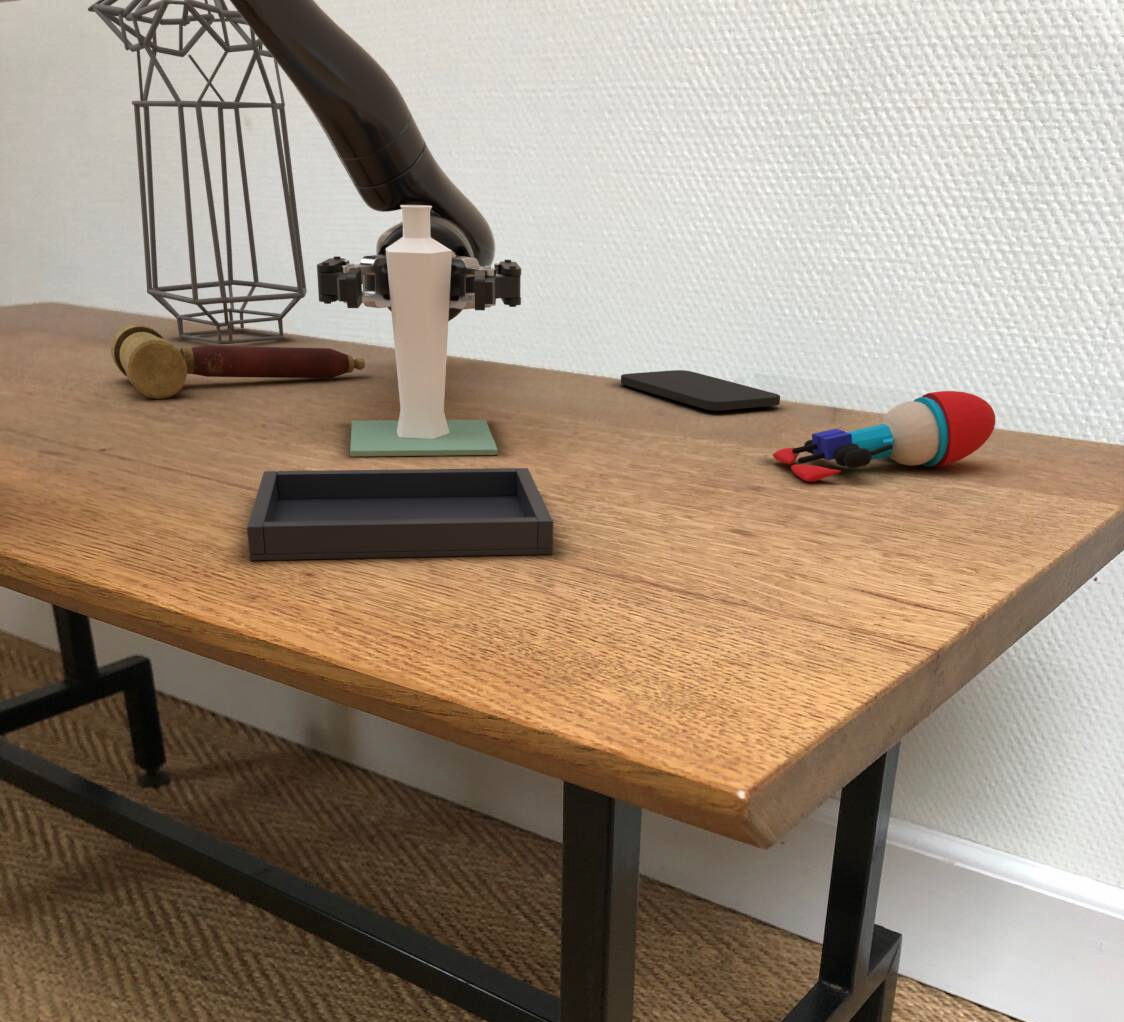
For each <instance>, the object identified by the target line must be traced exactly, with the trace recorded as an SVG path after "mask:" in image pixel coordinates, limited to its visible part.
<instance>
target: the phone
mask: <svg viewBox="0 0 1124 1022" xmlns="http://www.w3.org/2000/svg"><path fill="white" fill-rule="evenodd" d="M620 384H621V385H623V386H627V387H631V388H632V389H636V390H640V391H643V392H645V393H646V392H647V393H649V394H652V395H657V396H660V397H663V398H667V399H669V400H673V401H676V402H679V403H683V404H686V405H689V406H693V407H697V408H699V409H703V410H707V411H711V412H723V411H731V410H733V411H734V410H743V409H753V408H754V409H755V408H765V407H775V406H779V405H780V404H781V395H780V394H779V393H774V392H771V391H767V390H764V389H761V388H756V387H752V386H749V385H745V384H740V383H737V382H734V381H730V380H727V379H722V378H718V377H715V376H711V375H708V374H707V375H706V374H704V373H700V372H695V371H692V370H684V369H675V370H674V369H673V370H661V371H660V370H659V371H646V372H632V373H631V372H630V373H623V374H621V375H620Z"/></svg>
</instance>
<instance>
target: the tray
mask: <svg viewBox="0 0 1124 1022" xmlns="http://www.w3.org/2000/svg"><path fill="white" fill-rule="evenodd" d="M529 469H530V468H528V467H501V468H500V467H497V468H495V467H494V468H493V467H492V468H491V467H490V468H487V467H486V468H419V469H418V468H413V469H412V468H410V469H409V468H408V469H407V468H406V469H404V468H403V469H343V470H342V469H334V470H332V469H330V470H329V469H325V470H278V471H277V470H270V471H267V470H265V471H263V473H262V477H261V481H260V483H259V486H258V489H257V493H256V496H255V500H254V503H253V507H252V510H251V514H250V515H249V519H248V523H247V526H246V532H247V543H248V553H249V555H248V556H249V561H254V562H255V561H293V560H294V561H296V560H339V559H340V560H341V559H342V560H343V559H346V560H347V559H387V558H390V559H391V558H393V559H394V558H435V557H436V558H439V557H480V556H482V557H483V556H485V557H487V556H488V557H489V556H526V555H527V556H528V555H529V556H531V555H533V556H534V555H553V554H554V549H553V547H554V521H553V520H554V519H553V518H552V515H551V514H550V511H549V509H548V508H547V506H546V503H545V501H544V499H543V497H542V494H541V493H540V491H539V489H538V487H537V484H536V482H535V480H534V478H533V476H532V474H531V472H530V470H529Z"/></svg>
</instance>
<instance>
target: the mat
mask: <svg viewBox="0 0 1124 1022" xmlns="http://www.w3.org/2000/svg"><path fill="white" fill-rule="evenodd" d="M398 421H399V419H384V420H383V419H379V420H378V419H377V420H376V419H374V420H368V419H367V420H365V419H363V420H358V419H357V420H351V427H350V429H351V430H350V446H349V448H350V449H349V455H350V457H351V458H352V457H423V456H424V457H431V456H432V457H435V456H436V457H438V456H441V457H444V456H445V457H446V456H448V457H449V456H498V455H499V449H498V447H497V444H496V441H495V439H494V436H493V435H492V431H491V430H490V427H489V425H488V422H487V420H486V419H446V421H447V425H448V429H449V432H450V433H449V434H446V435H443V436H440V437H438V438H435V439H421V438H402V437H398V434H397V426H398Z"/></svg>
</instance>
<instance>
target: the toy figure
mask: <svg viewBox="0 0 1124 1022" xmlns="http://www.w3.org/2000/svg"><path fill="white" fill-rule="evenodd" d="M995 427H996V414H995V411H994V408H993V407H992V406H991V404H990V403H988V402H987V400H985V399H984V398H982V397H981V396H978V395H976V394H973V393H970V392H965V391H957V390H956V391H955V390H940V391H932V392H928V393H925V394H923V395H922V396H921V397H917V398H915V399H914V400H913V401H905V402H901V403H899V404H897V405H895V406H893V407H892V408H890V410H888V411H887V413H886V414H885V415H884V416H883V418H882V420H881V423H880V424H877V425H873V426H869V427H864V428H859V429H855V430H851V431H850V430H849V431H845V430H843V429H838V428H833V429H828V430H824V431H819V432H815V433H811V439H809V440H808V439H807V440H806V441H805V442H804V444H803V445H802V446H798V447H785V448H781V449H778V450H777V451H775V452H774V453H772V458H774V459H775V460H776V461H777V462H780V463H782V464H793V463H795V462H797V463H798V464H797V463H796V464H793V465H791V466H790V469H791V471H792V472H793V474H794V475H796V476H797V477H798V478H800V479H801V480H802V481H804V482H809V483H810V482H811V483H812V482H817V481H820V480H824V479H826V478H828V477H831V476H833V475H837V474H839V473H841V472H842V470H839V469H833V468H828V467H823V466H819V465H812V464H811V465H810V464H806V463H811V462H814V461H818V460H826V461H831V460H832V461H833V460H834V461H835V463H836V465H838V466H839V467H841V468H843V467H847V468H849V469H858V468H862V467H866V466H868V465H869V464H870V463H871V461H873V460H877V459H887V458H890V459H891V460H892V461H894V462H896V463H898V464H899V465H903V466H911V467H914V466H920V465H922V466H924V467H926V468H928V467H933V468H940V467H944V466H948V465H950V464H954V463H956V462H959V461H961V460H963V459H965V458H967V457H968V456H970V455H972V454H973V453H975V452H976V451H978V450H979V449H980V448H981V447H982V446H983V445H984V444H985V443H986V442H987V441H988V439H989V438H990V437H991V436H992V433H993V431H994V430H995ZM806 452H807V453H808V454H809V453H810V455H806V456H801V457H798V456H799V454H801V453H806ZM796 460H797V461H796Z"/></svg>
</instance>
